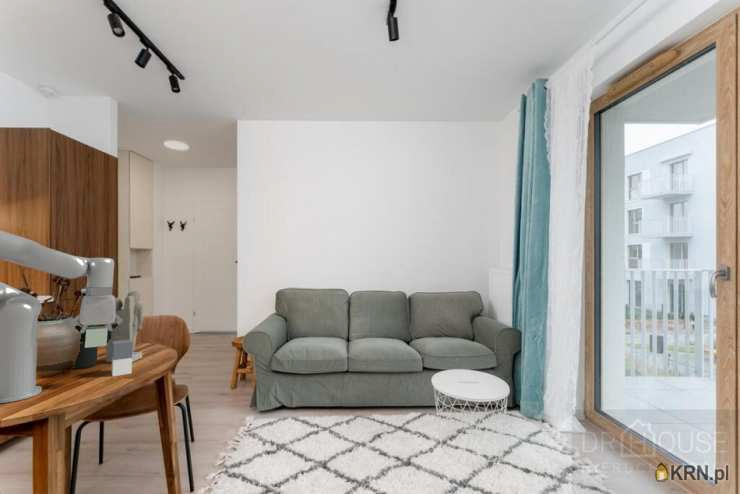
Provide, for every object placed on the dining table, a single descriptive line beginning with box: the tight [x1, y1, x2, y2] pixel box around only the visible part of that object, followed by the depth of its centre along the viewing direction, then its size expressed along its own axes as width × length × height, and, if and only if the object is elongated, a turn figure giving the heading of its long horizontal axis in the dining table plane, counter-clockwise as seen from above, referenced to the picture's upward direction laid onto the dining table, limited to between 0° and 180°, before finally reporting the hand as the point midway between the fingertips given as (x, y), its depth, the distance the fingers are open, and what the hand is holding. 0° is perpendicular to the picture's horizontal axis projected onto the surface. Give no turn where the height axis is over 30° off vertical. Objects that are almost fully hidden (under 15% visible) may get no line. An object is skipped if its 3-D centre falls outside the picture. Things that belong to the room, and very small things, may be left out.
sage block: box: [85, 325, 108, 348], centre depth 130 cm, size 6×6×6 cm
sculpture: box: [104, 290, 144, 363], centre depth 159 cm, size 15×8×30 cm, turn 84°
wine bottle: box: [72, 293, 98, 370], centre depth 149 cm, size 8×8×30 cm
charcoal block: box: [112, 339, 133, 360], centre depth 142 cm, size 6×6×6 cm
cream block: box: [111, 358, 133, 377], centre depth 142 cm, size 6×6×6 cm
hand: (95, 342), depth 130 cm, fingers closed on sage block, 6 cm apart
